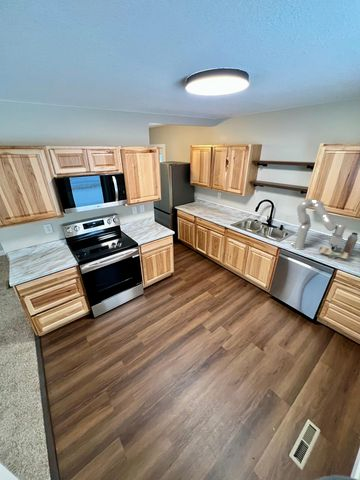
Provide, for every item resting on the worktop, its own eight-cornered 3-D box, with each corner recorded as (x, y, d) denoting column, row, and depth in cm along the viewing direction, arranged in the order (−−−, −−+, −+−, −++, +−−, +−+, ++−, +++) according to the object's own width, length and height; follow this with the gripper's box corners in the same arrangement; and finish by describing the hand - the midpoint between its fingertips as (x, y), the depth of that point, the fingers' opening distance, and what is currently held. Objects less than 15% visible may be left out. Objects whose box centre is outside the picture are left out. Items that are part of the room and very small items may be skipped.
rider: (333, 253, 216) (335, 248, 213) (334, 251, 219) (335, 246, 217) (339, 255, 213) (341, 250, 210) (339, 253, 217) (341, 248, 214)
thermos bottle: (348, 257, 219) (357, 235, 207) (340, 254, 226) (349, 232, 213) (351, 255, 223) (361, 233, 210) (343, 252, 229) (352, 231, 216)
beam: (317, 255, 226) (319, 248, 222) (318, 252, 230) (320, 246, 226) (345, 262, 211) (348, 255, 208) (345, 259, 216) (348, 253, 212)
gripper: (329, 234, 211) (324, 249, 219) (346, 238, 202) (340, 253, 211) (329, 232, 216) (324, 246, 224) (346, 235, 207) (340, 250, 216)
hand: (332, 249), depth 217 cm, fingers closed
